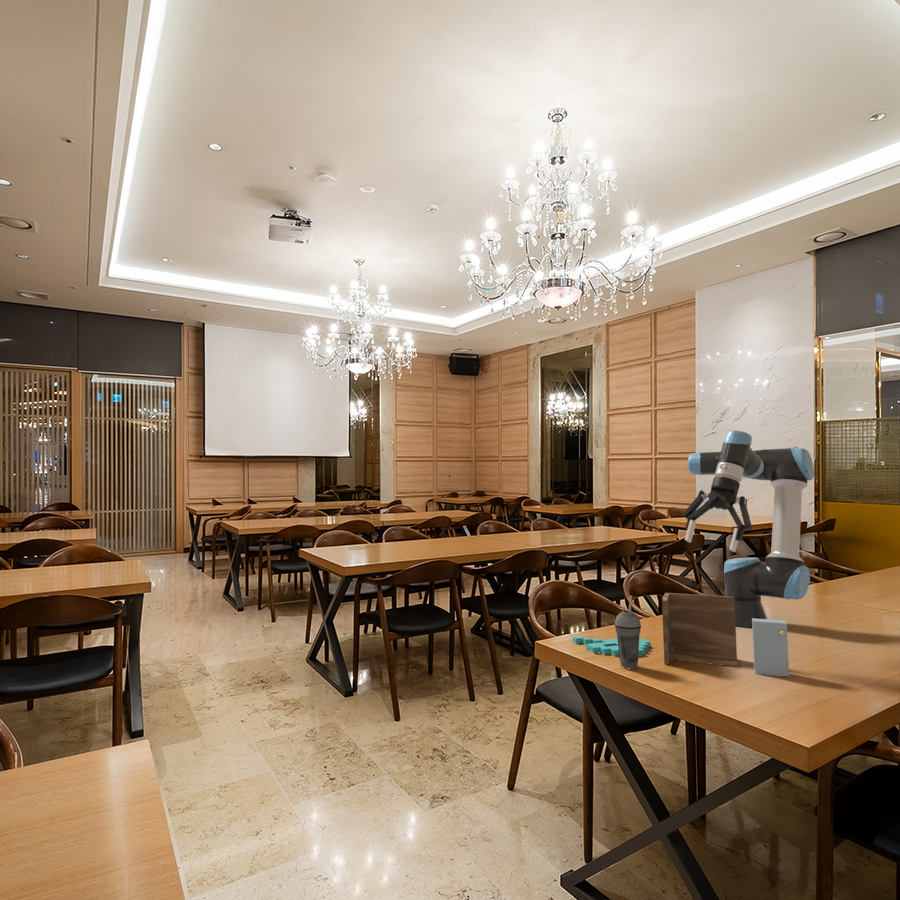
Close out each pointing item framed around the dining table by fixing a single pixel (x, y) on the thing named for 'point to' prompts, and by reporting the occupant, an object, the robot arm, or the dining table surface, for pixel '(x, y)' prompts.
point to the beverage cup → (628, 637)
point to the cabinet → (699, 628)
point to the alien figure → (609, 645)
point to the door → (770, 647)
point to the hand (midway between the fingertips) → (709, 545)
